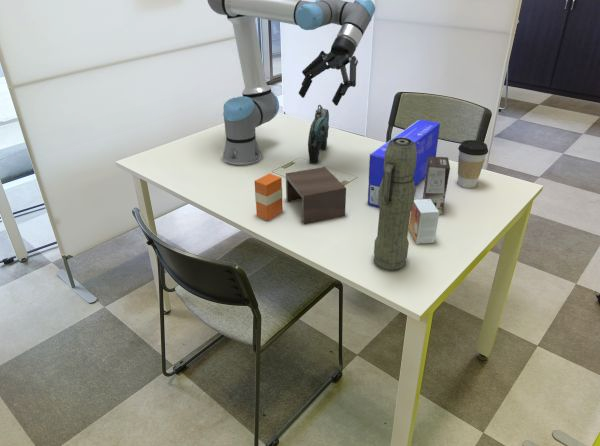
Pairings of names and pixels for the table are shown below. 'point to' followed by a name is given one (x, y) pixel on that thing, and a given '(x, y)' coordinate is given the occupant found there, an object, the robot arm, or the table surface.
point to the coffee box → (436, 181)
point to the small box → (423, 221)
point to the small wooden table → (316, 194)
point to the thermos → (395, 204)
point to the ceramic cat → (318, 134)
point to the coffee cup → (470, 162)
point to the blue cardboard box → (426, 146)
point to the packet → (268, 196)
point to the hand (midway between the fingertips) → (317, 99)
